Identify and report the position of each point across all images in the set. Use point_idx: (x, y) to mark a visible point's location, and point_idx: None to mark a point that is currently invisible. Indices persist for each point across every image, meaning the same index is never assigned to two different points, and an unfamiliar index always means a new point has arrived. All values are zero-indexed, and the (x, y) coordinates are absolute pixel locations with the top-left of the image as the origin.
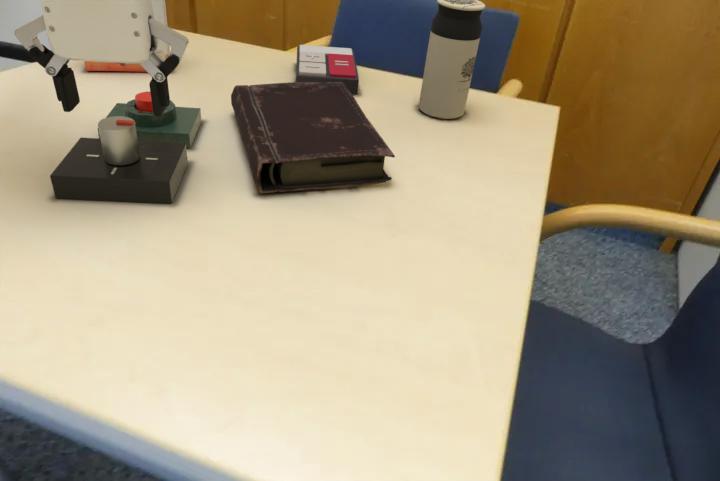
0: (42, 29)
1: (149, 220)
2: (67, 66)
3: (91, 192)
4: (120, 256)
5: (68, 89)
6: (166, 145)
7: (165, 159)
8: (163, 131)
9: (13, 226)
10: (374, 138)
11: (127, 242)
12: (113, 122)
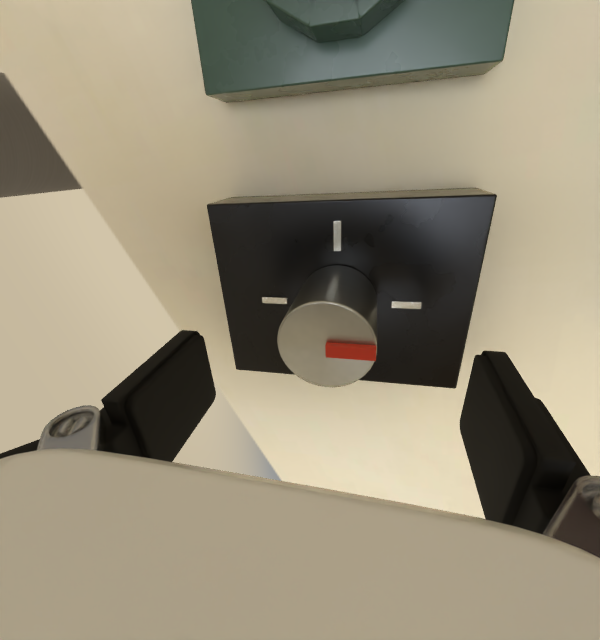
0: None
1: (411, 399)
2: (115, 440)
3: None
4: (386, 462)
5: (181, 428)
6: (435, 220)
7: (440, 301)
8: (405, 65)
9: (236, 403)
10: None
11: (389, 441)
12: (316, 345)
